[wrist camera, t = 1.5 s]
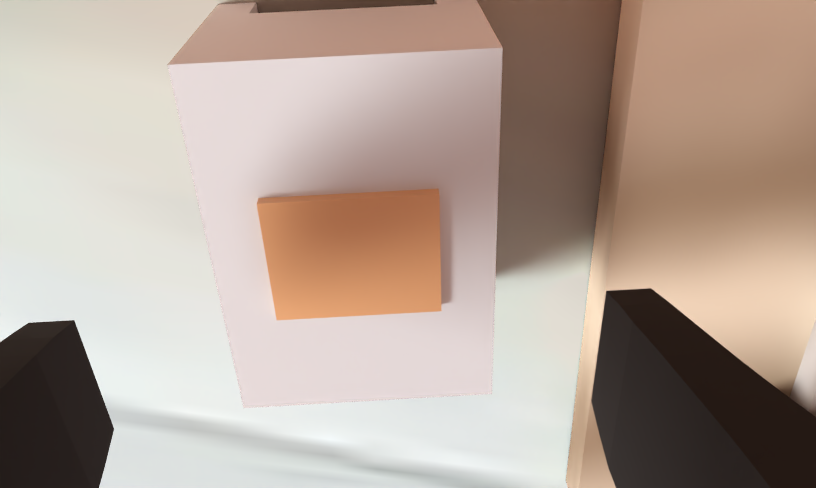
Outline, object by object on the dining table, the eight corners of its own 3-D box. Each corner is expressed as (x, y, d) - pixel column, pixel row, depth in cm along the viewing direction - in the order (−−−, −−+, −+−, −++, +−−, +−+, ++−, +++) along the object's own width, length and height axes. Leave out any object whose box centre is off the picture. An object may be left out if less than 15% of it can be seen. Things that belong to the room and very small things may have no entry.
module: (469, 281, 18) (493, 400, 14) (269, 292, 17) (242, 414, 14) (471, -10, 14) (505, 51, 10) (219, 2, 14) (163, 68, 10)
